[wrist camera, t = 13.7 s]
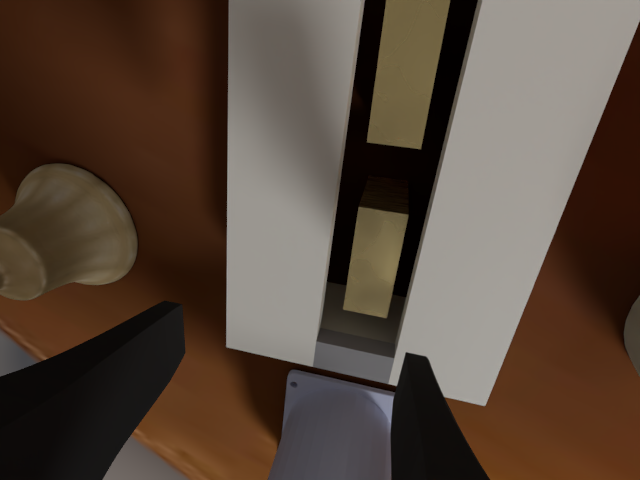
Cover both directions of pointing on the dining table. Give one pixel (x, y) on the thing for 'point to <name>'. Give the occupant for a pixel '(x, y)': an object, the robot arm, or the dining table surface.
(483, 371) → the box
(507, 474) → the dining table surface
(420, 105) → the block
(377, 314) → the block
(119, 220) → the hand bell
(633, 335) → the reusable coffee cup
